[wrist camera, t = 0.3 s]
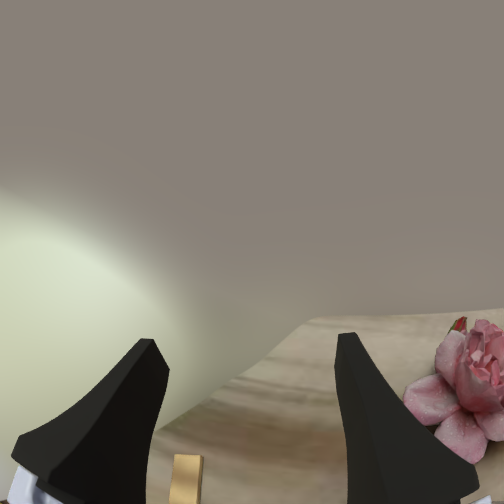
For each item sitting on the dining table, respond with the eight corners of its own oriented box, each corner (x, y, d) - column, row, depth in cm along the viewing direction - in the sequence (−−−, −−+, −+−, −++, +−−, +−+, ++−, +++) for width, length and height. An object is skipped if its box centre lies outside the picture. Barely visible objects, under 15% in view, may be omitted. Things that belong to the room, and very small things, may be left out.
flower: (461, 499, 9) (529, 431, 6) (375, 411, 23) (400, 335, 20) (527, 414, 14) (567, 343, 11) (453, 361, 27) (476, 294, 24)
